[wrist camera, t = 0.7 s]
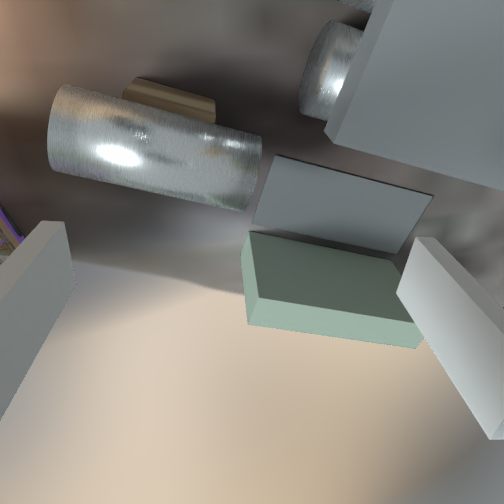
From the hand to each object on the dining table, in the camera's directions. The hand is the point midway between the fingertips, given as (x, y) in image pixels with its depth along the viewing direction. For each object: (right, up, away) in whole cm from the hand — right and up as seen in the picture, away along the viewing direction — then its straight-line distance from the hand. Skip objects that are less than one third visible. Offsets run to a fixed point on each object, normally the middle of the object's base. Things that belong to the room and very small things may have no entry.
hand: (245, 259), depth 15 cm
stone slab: (+13, +12, +9) cm, 20 cm away
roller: (-6, +8, +12) cm, 16 cm away
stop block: (+7, 0, +25) cm, 26 cm away
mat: (+9, +4, +22) cm, 24 cm away
